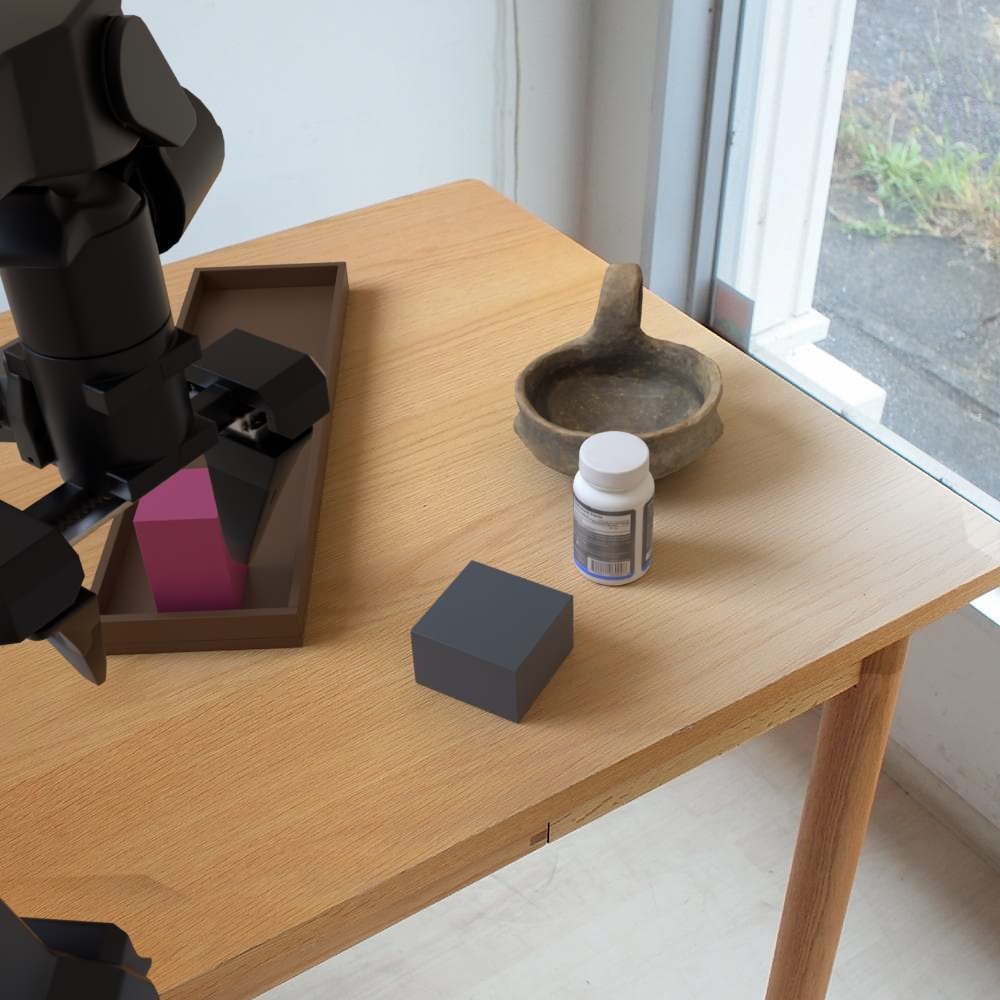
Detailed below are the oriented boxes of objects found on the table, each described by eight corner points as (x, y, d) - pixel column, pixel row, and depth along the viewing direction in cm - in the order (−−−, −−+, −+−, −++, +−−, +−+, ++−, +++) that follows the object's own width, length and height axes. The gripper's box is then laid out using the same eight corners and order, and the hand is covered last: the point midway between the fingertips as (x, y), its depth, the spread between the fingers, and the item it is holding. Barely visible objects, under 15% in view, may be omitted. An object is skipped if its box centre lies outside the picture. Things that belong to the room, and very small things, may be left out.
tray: (302, 647, 75) (297, 613, 74) (89, 655, 75) (78, 622, 74) (349, 289, 108) (345, 261, 106) (199, 295, 108) (194, 267, 106)
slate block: (518, 724, 70) (516, 671, 68) (415, 682, 73) (409, 630, 70) (573, 647, 75) (573, 595, 72) (474, 611, 77) (471, 559, 75)
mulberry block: (238, 618, 76) (217, 517, 72) (159, 621, 76) (132, 521, 72) (248, 565, 80) (229, 466, 75) (172, 569, 80) (148, 470, 75)
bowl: (501, 515, 84) (496, 384, 78) (533, 367, 98) (531, 245, 91) (720, 528, 82) (732, 395, 76) (721, 375, 96) (731, 252, 90)
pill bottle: (613, 526, 83) (616, 416, 78) (667, 563, 80) (674, 451, 75) (556, 559, 81) (555, 448, 75) (610, 599, 78) (612, 486, 72)
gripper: (130, 182, 60) (192, 457, 70) (-251, 373, 48) (-113, 673, 58) (317, 241, 55) (355, 530, 65) (-59, 471, 43) (57, 783, 53)
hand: (171, 617), depth 60 cm, fingers open, 9 cm apart
